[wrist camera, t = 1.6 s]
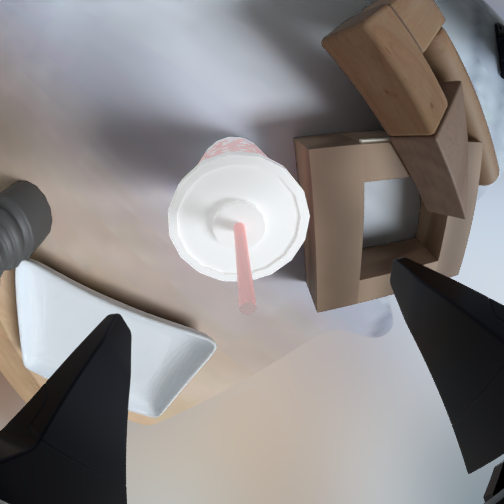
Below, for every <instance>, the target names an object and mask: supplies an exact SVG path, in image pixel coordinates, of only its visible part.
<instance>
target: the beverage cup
mask: <svg viewBox="0 0 504 504" xmlns="http://www.w3.org/2000/svg"><path fill="white" fill-rule="evenodd" d="M309 218H310V214H309V210H308V206H307V201H306V197H305V193H304V191H303V189H302V188H301V187H300V185H299V184H298V183H297V182H296V180H295V179H294V178H293V177H292V175H291V174H290V173H289V172H288V171H287V169H286V168H284V166H283V165H281V164H279V163H277V162H275V161H273V160H271V159H269V158H268V157H267V156H266V155H265V154H264V153H263V152H262V151H261V150H260V149H259V148H258V147H257V146H256V145H255V144H254V143H253V142H251V141H249V140H247V139H245V138H242V137H227V138H224V139H221V140H218V141H216V142H215V143H214V144H213V145H212V146H210V147H209V148H208V149H207V150H206V152H205V154H204V155H203V157H202V158H201V160H200V161H199V163H198V164H197V166H196V167H194V168H193V169H192V170H191V171H190V172H189V173H188V174H187V175H186V176H185V177H184V178H183V179H182V180H181V182H180V183H179V185H178V187H177V189H176V192H175V194H174V197H173V199H172V201H171V204H170V206H169V209H168V222H169V236H170V238H171V240H172V242H173V244H174V246H175V247H176V249H177V251H178V253H179V255H180V257H181V258H182V259H183V260H185V261H186V262H187V263H188V264H189V265H191V266H192V267H193V268H194V269H195V270H197V271H198V272H199V273H201V274H204V275H207V276H210V277H213V278H215V279H218V280H221V281H237V282H238V296H239V309H240V312H242V313H243V314H252V313H254V312H255V311H256V301H255V294H254V287H253V280H255V279H258V278H261V277H265V276H268V275H271V274H273V273H274V272H275V271H277V270H278V269H280V268H281V267H283V266H284V265H285V264H287V263H288V262H290V261H291V260H292V259H293V257H294V256H295V254H296V253H297V251H298V250H299V248H300V247H301V245H302V244H303V242H304V241H305V238H306V233H307V228H308V223H309Z"/></svg>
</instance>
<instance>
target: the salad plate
mask: <svg viewBox="0 0 504 504" xmlns="http://www.w3.org/2000/svg"><path fill="white" fill-rule="evenodd" d="M15 290H16V304H17V316H18V326H19V335H20V344H21V352H22V359H23V363H24V366H25V367H26V368H27V369H29V370H31V371H33V372H35V373H37V374H39V375H40V376H42V377H44V378H46V379H49V378H50V377H51V376H52V374H53V373H54V372H55V371H56V370H57V369H58V368H59V367H60V365H61V364H62V363H63V362H64V361H65V360H66V359H67V358H68V357H69V355H70V354H71V353H72V352H73V351H74V350H75V349H76V348H77V347H78V346H79V345H80V344H81V342H82V341H83V340H84V339H85V338H86V337H87V336H88V335H89V334H90V333H91V332H92V331H93V330H94V329H95V328H96V327H97V326H98V324H99V323H100V322H101V321H102V320H103V319H104V318H105V317H106V316H107V315H109V314H115V313H119V314H120V315H121V316H122V317H123V319H124V321H125V322H126V324H127V326H128V327H129V329H130V331H131V335H132V343H131V381H130V392H129V404H128V411H132V412H135V413H138V414H142V415H145V416H150V417H159V416H160V415H161V414H162V413H163V412H164V411H165V410H166V409H167V408H168V406H169V405H170V404H171V403H172V401H173V400H174V399H175V398H176V396H177V395H178V394H179V393H180V391H181V390H182V389H183V388H184V387H185V386H186V384H187V383H188V382H189V381H190V380H191V379H192V377H193V376H194V375H195V374H196V373H197V372H198V371H199V370H200V368H201V367H202V366H203V365H204V364H205V363H206V362H207V360H208V359H209V358H210V357H211V356H212V354H213V353H214V352H215V350H216V347H217V345H216V343H215V341H214V340H213V339H212V338H210V337H209V336H208V335H206V334H205V333H203V332H201V331H198V330H196V329H193V328H190V327H187V326H184V325H181V324H178V323H175V322H172V321H169V320H166V319H163V318H160V317H157V316H154V315H152V314H149V313H146V312H144V311H141V310H138V309H136V308H133V307H131V306H129V305H126V304H124V303H122V302H119V301H117V300H114V299H112V298H110V297H108V296H105V295H103V294H101V293H99V292H96V291H94V290H92V289H90V288H88V287H86V286H84V285H82V284H80V283H78V282H76V281H74V280H72V279H70V278H68V277H66V276H64V275H63V274H61V273H59V272H57V271H55V270H53V269H52V268H50V267H48V266H46V265H44V264H42V263H40V262H38V261H36V260H33V259H31V258H28V259H26V260H24V261H21V263H20V265H19V266H18V267H17V268H15Z"/></svg>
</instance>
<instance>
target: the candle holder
mask: <svg viewBox="0 0 504 504" xmlns="http://www.w3.org/2000/svg"><path fill="white" fill-rule="evenodd" d="M51 224H52V216H51V209H50V206H49V204H48V202H47V200H46V197H45V195H44V194H43V193H42V192H41V191H40V190H39V189H38V187H37V186H35V185H33V184H31V183H30V182H28V181H17V182H16V183H14V184H13V185H11V186H10V187H8V188H7V189H5V190H4V191H3V192H1V193H0V277H1V275H2V273H3V271H4V270H12V269H14V268H17V267H18V266H19V265H20V263H21V261H24V260H26V259H28V258H29V257H30V256H31V254H32V253H33V252H34V251H35V250H36V249H37V247H38V246H39V245H40V244H41V243H42V242H43V240H44V239H45V238H46V237H47V235H48V234H49V232H50V230H51Z"/></svg>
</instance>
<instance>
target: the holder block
mask: <svg viewBox="0 0 504 504" xmlns="http://www.w3.org/2000/svg"><path fill="white" fill-rule="evenodd" d="M293 139H294V147H295V156H296V165H297V174H298V184H299V185H300V187H301V188H302V189H303V191H304V193H305V197H306V201H307V206H308V210H309V214H310V218H309V223H308V228H307V233H306V238H305V241H304V255H305V270H306V283H307V286H308V288H309V291H310V294H311V297H312V299H313V302H314V305H315V307H316V310H317V313H318V312H323V311H327V310H332V309H336V308H340V307H345V306H349V305H353V304H357V303H361V302H365V301H369V300H373V299H377V298H381V297H385V296H388V295H392V294H394V292H393V290H392V287H391V284H390V275H391V269H392V263H393V260H395V259H397V258H401V257H406V258H408V259H410V260H413V261H415V262H417V263H419V264H421V265H424V266H426V267H428V268H430V269H432V270H434V271H436V272H438V273H441V274H443V275H445V276H447V277H449V278H450V277H453V276H456V275H458V273H459V270H460V267H461V264H462V260H463V256H464V253H465V249H466V245H467V241H468V237H469V233H470V229H471V224H472V220H473V215H474V210H475V204H476V198H477V192H478V186H479V178H480V170H481V161H482V149H483V142H480V141H476V140H471V139H468V161H469V174H468V202H467V215H466V219H465V220H464V219H460V218H456V217H452V216H448V215H443V214H439V213H434V212H430V211H427V209H426V207H425V204H424V202H423V200H422V198H421V206H420V214H419V222H418V229H417V236H416V238H413V239H408V240H403V241H399V242H394V243H389V244H384V245H379V246H374V247H369V248H364V249H362V243H363V222H364V182H371V181H379V180H388V179H397V178H407V177H411V176H410V174H409V172H408V170H407V168H406V167H405V165H404V163H403V161H402V159H401V157H400V156H399V154H398V152H397V150H396V149H395V147H394V145H393V144H392V142H391V140H390V135H388V134H387V133H386V131H385V130H380V131H360V132H345V133H333V134H322V135H313V136H304V137H295V138H293Z"/></svg>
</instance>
